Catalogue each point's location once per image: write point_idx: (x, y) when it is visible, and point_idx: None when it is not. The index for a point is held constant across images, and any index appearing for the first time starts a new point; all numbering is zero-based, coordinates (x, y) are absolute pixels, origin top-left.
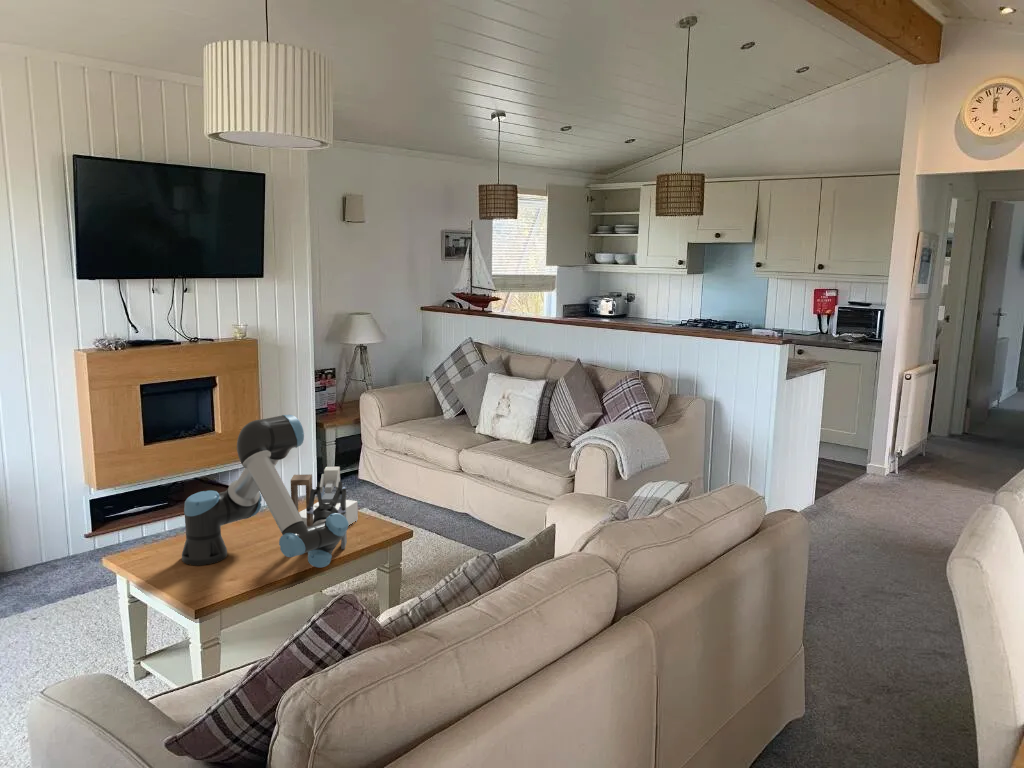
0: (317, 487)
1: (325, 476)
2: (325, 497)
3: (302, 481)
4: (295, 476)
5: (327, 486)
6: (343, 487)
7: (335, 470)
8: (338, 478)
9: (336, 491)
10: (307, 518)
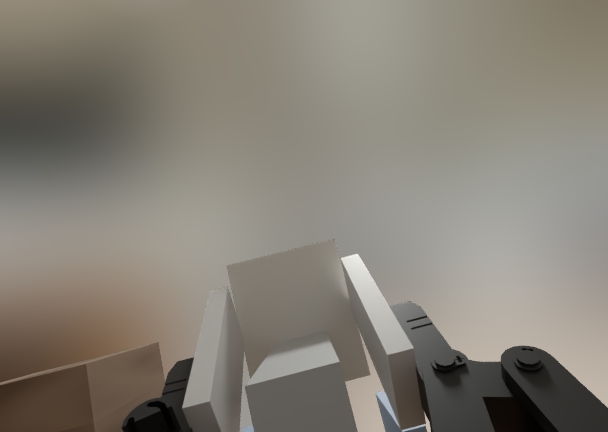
0: (143, 419)
1: (247, 314)
2: None
3: (23, 395)
4: (21, 377)
5: (280, 369)
6: (382, 395)
7: (315, 245)
8: (368, 280)
9: (437, 415)
10: None
